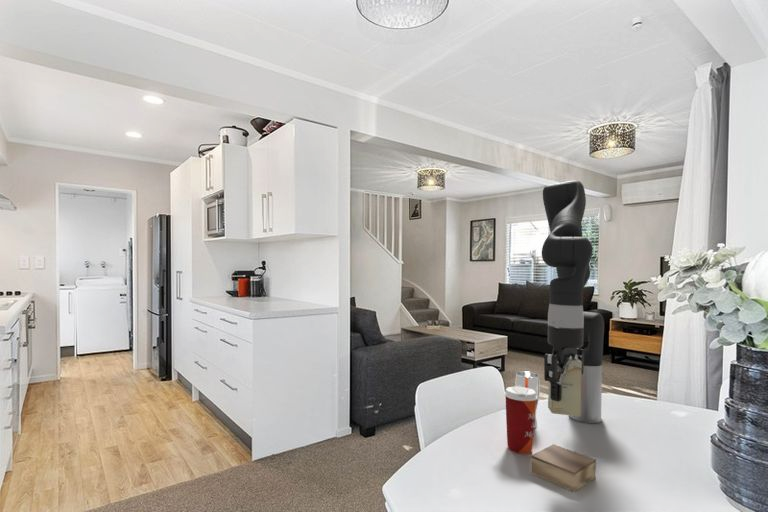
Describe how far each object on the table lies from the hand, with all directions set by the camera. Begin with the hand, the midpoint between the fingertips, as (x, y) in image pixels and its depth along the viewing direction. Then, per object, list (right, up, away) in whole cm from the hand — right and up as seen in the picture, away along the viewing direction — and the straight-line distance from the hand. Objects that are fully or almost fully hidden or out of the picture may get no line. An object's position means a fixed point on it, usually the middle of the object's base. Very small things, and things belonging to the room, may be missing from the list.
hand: (564, 397), depth 96 cm
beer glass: (+1, -18, +30) cm, 35 cm away
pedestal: (0, -18, 0) cm, 18 cm away
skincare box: (0, -4, 0) cm, 4 cm away
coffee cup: (-6, -18, +13) cm, 23 cm away
